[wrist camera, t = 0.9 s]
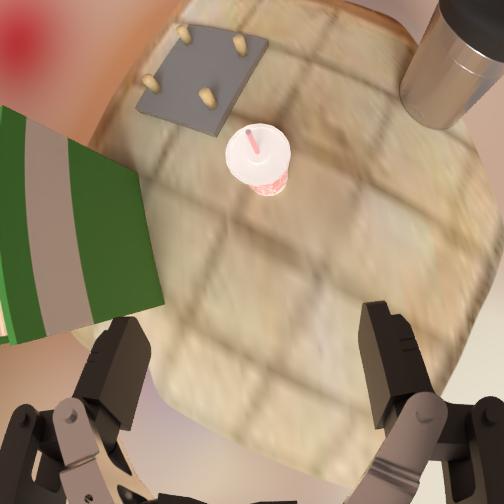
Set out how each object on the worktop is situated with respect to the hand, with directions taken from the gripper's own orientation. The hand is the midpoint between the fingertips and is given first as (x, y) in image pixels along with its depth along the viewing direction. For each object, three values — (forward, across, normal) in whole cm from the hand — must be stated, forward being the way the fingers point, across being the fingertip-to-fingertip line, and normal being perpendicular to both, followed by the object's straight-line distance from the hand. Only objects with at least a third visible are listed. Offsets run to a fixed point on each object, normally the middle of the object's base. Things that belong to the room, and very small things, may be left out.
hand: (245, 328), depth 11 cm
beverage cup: (+28, 0, +6) cm, 29 cm away
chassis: (+39, +7, -7) cm, 40 cm away
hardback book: (+26, +19, +12) cm, 34 cm away
